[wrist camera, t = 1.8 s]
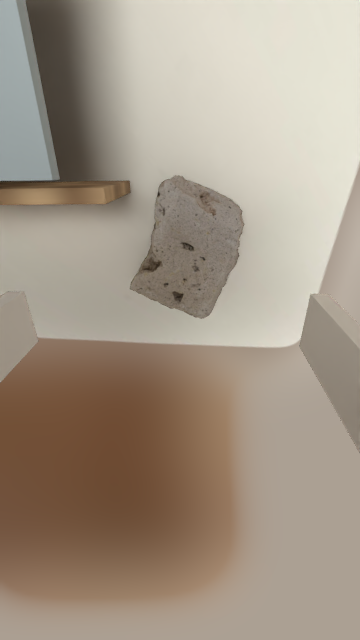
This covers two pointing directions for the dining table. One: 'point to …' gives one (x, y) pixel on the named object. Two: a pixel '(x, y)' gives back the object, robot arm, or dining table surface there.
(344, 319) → the robot arm
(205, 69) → the dining table surface
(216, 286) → the stone
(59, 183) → the frame
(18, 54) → the blue-grey flat square block
